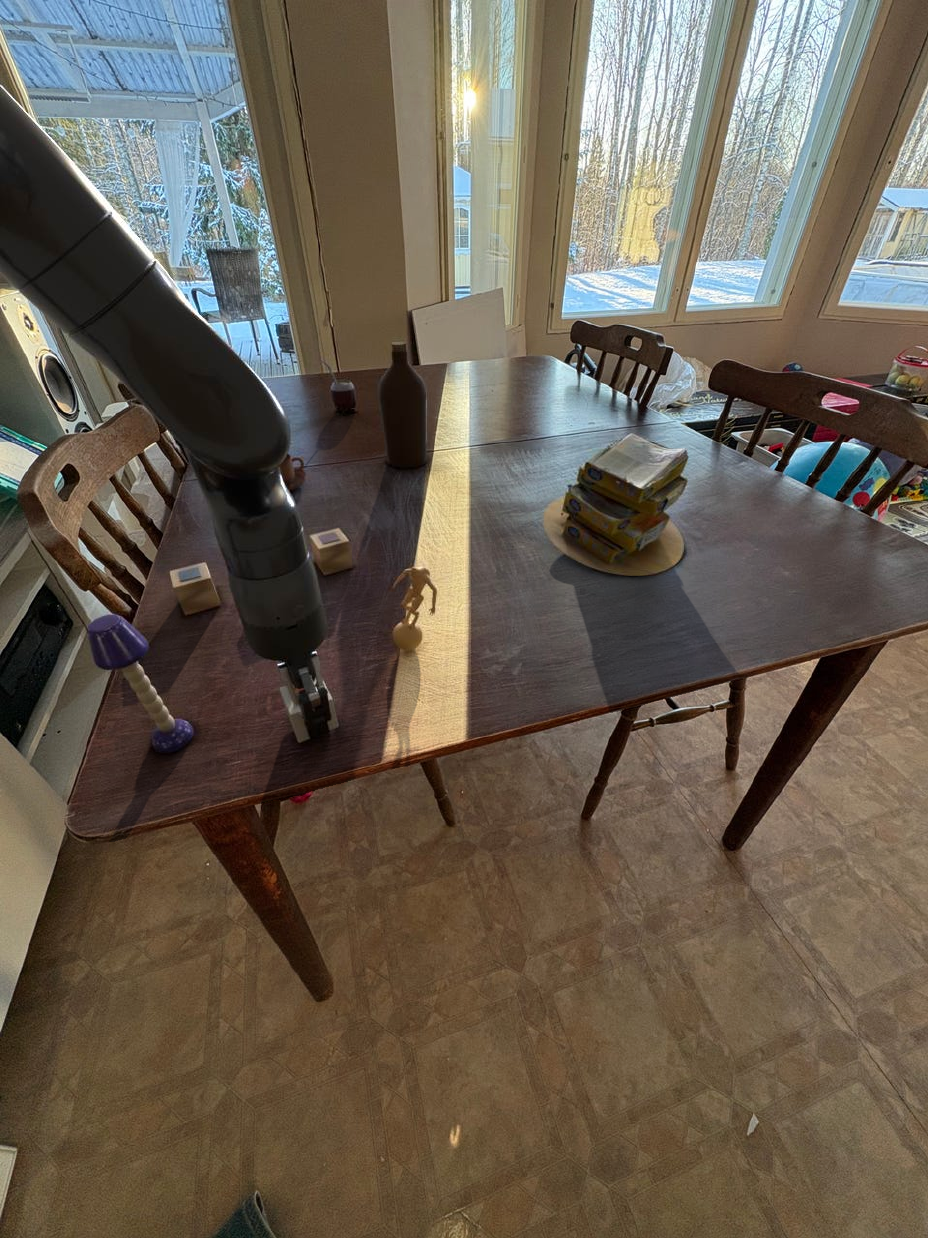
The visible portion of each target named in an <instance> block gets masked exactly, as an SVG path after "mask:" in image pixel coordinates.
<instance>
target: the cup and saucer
mask: <svg viewBox="0 0 928 1238" xmlns="http://www.w3.org/2000/svg"><path fill="white" fill-rule="evenodd" d="M297 461H298V462H300V466H299V467H294V464H293V463H294V462H297ZM304 466H305V462H304V460H303V459H302V458H301V457H299V456H297V457H296V456H295V457H292V456H291V454H290V453H288V454H287V456H286V458H285V460H284V461H283V463H282V464H281V465H280V470H281V474H282V477H283V480H284V482H285V485H286V486H287V488H288V490H289V491H293V490H295V489H298V488H299V487H301V486H302V485H303V484H304V483H305V482H306V480H307V478H308V477H307V473H306V472H305V471H304V470H303V468H304Z"/></svg>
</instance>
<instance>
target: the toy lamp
mask: <svg viewBox="0 0 928 1238" xmlns="http://www.w3.org/2000/svg"><path fill="white" fill-rule="evenodd" d="M86 634H87V638H88V642H89V647H90V652H91V655H92V659H93V662H94V664H95V665H96V666H97V667H98V668H99V669H101V670H103V671H116V670H117V671H118V670H122V674H123V677H124V678H125V679H126V681H128V682H129V686H130V688H131V689H132V690H133V691H134V692H135V694H136V697H137V699H138V700H139V702H141V703H142V706H143V708H144V710H145V711H147V712H148V714H149V717H150V719H151V720H152V721H153V722H155V726H156V727H155V729H154V731H153V733H152V735H151V745H152V748H153V749H154V750H155V751H156V752H158V753H161V754H170V753H174V752H176V751H179V750H181V749H182V748H184V747H185V746H186V745H187V744H188V743H189V742H190V741H191V739H192V738H193V736H194V733H195V732H194V728H193V727H194V726H193V725H192V724H191V723H189V722H188V721H187V720H185V719H181V718H173V716H172V715H171V714H170V712H169V710H168V708H167V706H166V705H164V702H163V701H164V700H163V699H162V698H161V696H160V695H158V693H157V692H158V691H157V690H156V688H155V687H154V686H153V685H152V684H151V680H150V678H149V677H148V676H147V675H146V674H145V670H144V668H143V666H141V665H140V664H139V661H140V660H141V659H142V658H143V657H144V656H146V654H147V652H148V650H149V642H148V639H146V637H145V636H144V635H143V634H141V633H140V632H139V631H138V630H137V629H136V628H135V627H134V626H133V625H132V624H131V623H130V622H128V621H127V620H126V619H125V618H124V617H123V616H121V615H119V614H115V613H112V614H111V613H110V614H104V615H101V616H99V617H96V618H95V619H94V620H92V621H91V622H90V623H88V625H87V628H86Z"/></svg>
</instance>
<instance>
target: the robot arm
mask: <svg viewBox="0 0 928 1238" xmlns="http://www.w3.org/2000/svg"><path fill="white" fill-rule="evenodd" d="M0 276H2V277H3V278H4V279H5V280H6V281H7V282H8V283H9V284H10V285H11V286H12V287H13V288H14V289H16V290H18V292H19V293H20V294H21V295H22V296H23V297H25V299H27V301H29V302H30V303H31V304H32V305H33V306H34V307H35V308H36V309H37V310H39V312H41V313H42V315H44V316H45V317H46V318H47V319H48V320H49V321H51V322H52V323H53V324H54V325H55V326H56V327H57V328H58V329H59V330H61V331H62V332H63V333H64V334H67V337H68V338H69V339H71V341H73V342H74V343H75V344H76V345H78V346H79V347H80V348H81V349H82V350H83V351H85V352H86V353H87V354H89V356H91V357H93V358H94V360H96V361H97V362H99V364H101V365H102V366H103V367H104V368H106V369H107V370H108V371H109V372H111V373H112V374H113V375H114V376H115V377H116V378H117V379H118V380H119V381H120V382H121V383H122V384H123V386H125V387H126V388H127V390H128V391H129V392H130V393H131V394H132V395H133V396H134V397H135V398H136V399H137V401H139V403H140V404H141V405H142V406H143V407H145V409H146V410H147V411H148V412H149V413H150V415H152V416H153V417H154V419H156V421H158V423H160V424H161V426H163V427H164V429H165V430H166V431H167V432H168V433H169V434H170V435H171V436H172V437H173V438H174V439H175V440H176V441H177V442H178V443H179V444H181V446H182V448H183V450H184V452H185V455H186V458H187V460H188V463H189V464H190V467H191V469H192V471H193V474H194V476H195V478H196V481H197V483H198V486H199V488H200V490H201V492H202V495H203V497H204V499H205V502H206V505H207V508H208V511H209V515H210V520H211V524H212V528H213V532H214V536H215V539H216V542H217V546H218V548H219V551H220V554H221V557H222V559H223V562H224V566H225V569H226V573H227V577H228V583H229V588H230V593H231V595H232V598H233V602H234V605H235V607H236V610H237V613H238V616H239V618H240V622H241V624H242V628H243V630H244V633H245V636H246V639H247V641H248V645H249V647H250V649H251V651H252V652H254V654H255V655H257V656H259V657H260V658H262V659H264V660H269V661H274V663H275V665H277V669H278V672H279V675H280V677H281V679H282V681H283V682H285V686H286V685H287V688H288V691H289V694H290V697H291V699H292V701H293V703H294V704H298V705H299V708H300V711H301V714H300V715H301V718H303V719H304V724H305V726H306V728H307V732H308V735H309V737H310V739H309V740H311V741H315V740H318V739H320V738H323V737H325V736H327V735H329V734H330V731H331V730H329V726H328V721H330V720H331V716H332V715H331V713H330V707H329V700H328V691H329V690H327V689H328V688H326V689H325V686H324V683H325V682H324V683H323V681H324V679H323V677H322V674H321V669H322V664H321V660H320V658H319V654H318V653H317V651H316V650H317V649H318V648H319V647H320V646H321V645H322V644H323V643H324V641H325V639H326V637H327V636H328V635H327V634H328V629H329V627H328V622H327V617H326V611H325V608H324V603H323V597H322V593H321V589H320V584H319V580H318V574H317V572H316V568H315V565H314V563H313V560H312V558H311V555H310V551H309V547H308V542H307V541H308V540H307V539H306V538H307V537H306V533H305V528H304V524H303V519H302V515H301V512H300V509H299V507H298V504H297V501H296V499H295V498H294V496H293V494H292V493H291V492H290V491H289V490H288V488H287V486H286V485H285V482H284V480H283V477H282V474H281V470H280V465H281V464H282V463H283V461H284V460H285V458H286V456H287V454H289V450H290V447H291V441H292V440H291V439H292V438H291V437H292V434H291V425H290V421H289V417H288V414H287V412H286V409H285V407H284V406H283V405H282V403H281V401H280V400H279V398H278V397H277V395H276V394H275V393H274V392H273V391H272V389H271V388H270V387H269V386H268V385H267V383H265V381H264V380H263V379H262V378H261V377H260V376H259V375H258V373H256V372H255V370H254V369H253V368H252V367H251V366H250V365H249V364H248V363H247V362H246V361H245V359H243V358H242V356H240V354H238V352H237V351H236V350H235V349H234V348H233V347H232V346H231V345H230V344H229V343H228V342H227V341H226V340H225V339H224V338H223V337H222V336H221V335H220V334H219V333H218V332H217V330H216V329H215V328H213V326H212V325H211V324H210V323H209V322H208V321H207V320H206V319H205V318H204V317H203V316H202V315H201V314H200V313H199V312H198V311H197V310H196V309H195V308H194V306H193V305H192V304H191V303H190V301H189V300H188V299H187V298H186V296H185V295H184V294H183V292H182V291H181V289H180V288H179V287H178V286H177V284H176V282H175V281H174V280H173V278H171V276H170V275H169V273H168V272H167V270H165V268H164V266H162V264H161V263H160V262H159V260H158V259H156V258H155V257H154V255H153V253H152V252H151V251H150V250H149V249H148V247H146V245H145V244H144V243H143V242H142V241H141V239H140V238H139V237H138V236H137V234H135V232H134V231H133V230H132V229H131V227H130V226H129V225H128V223H126V222H125V220H124V219H123V218H122V217H121V216H120V214H119V213H118V212H117V211H116V210H115V209H114V208H113V206H112V205H111V204H110V203H109V202H108V201H107V199H105V197H104V196H103V195H102V194H101V193H100V191H99V190H98V189H97V188H96V186H94V185H93V183H92V182H91V181H90V180H89V179H88V178H87V176H86V175H85V174H84V173H83V172H82V171H81V170H80V168H79V167H78V166H77V165H76V164H75V163H74V162H73V161H72V160H71V158H70V157H69V156H68V155H67V154H66V153H65V152H64V151H63V150H62V149H61V147H60V146H59V145H58V144H57V143H56V142H55V141H54V139H52V138H51V137H50V135H48V134H47V132H46V131H45V130H44V129H43V127H41V126H40V125H39V124H38V122H36V121H35V120H34V118H33V117H32V116H31V115H30V114H29V113H28V112H27V111H26V110H25V109H24V108H23V107H22V106H21V105H20V103H18V101H16V100H15V98H13V96H12V95H11V94H10V93H9V92H8V91H7V90H6V89H5V88H4V87H3V85H1V84H0ZM315 679H316V684H314V682H315ZM322 679H323V680H322ZM292 683H293V684H292ZM293 685H294V687H295V689H296V688H297V689H302V688H304V690H301V691H298V692H297V691H295V690H294V687H293Z"/></svg>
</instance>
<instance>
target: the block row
mask: <svg viewBox="0 0 928 1238" xmlns="http://www.w3.org/2000/svg"><path fill="white" fill-rule="evenodd" d="M309 539H310V545H311V549H312V554H313V558H314V562H315V564H316V565H317V567H318V568H319V570H320V572H321V573H322V574H323V576H328V575H330V574H334V573H338V572H341V571H345V570H348V569H352V568H354V563H353V558H352V550H351V545H350V540H349V539H348V538H347V536H346V535H345V534H344V533H343V532H342V530H341V529H340V528H339V527H337V528H333V529H330V530H325V531H322V532H318V533H314V534H310V535H309ZM169 575H170V576H169V577H170V581H171V585H172V589H173V591H174V593H175V595H176V598H177V600H178V603H179V604H180V607H181V609H182V611H183V614H184V616H189V615H193V614H195V613H199V612H203V611H207V610H209V609H214V608H217V607H220V606H222V603H221V601H220V598H219V594H218V592H217V589H216V587H215V584H214V581H213V579H212V576H211V573H210V570H209V569H208V565H207V562H205V561H204V562H200V563H197V564H192V565H188V566H185V567H181V568H176V569H173V570H169Z"/></svg>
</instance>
